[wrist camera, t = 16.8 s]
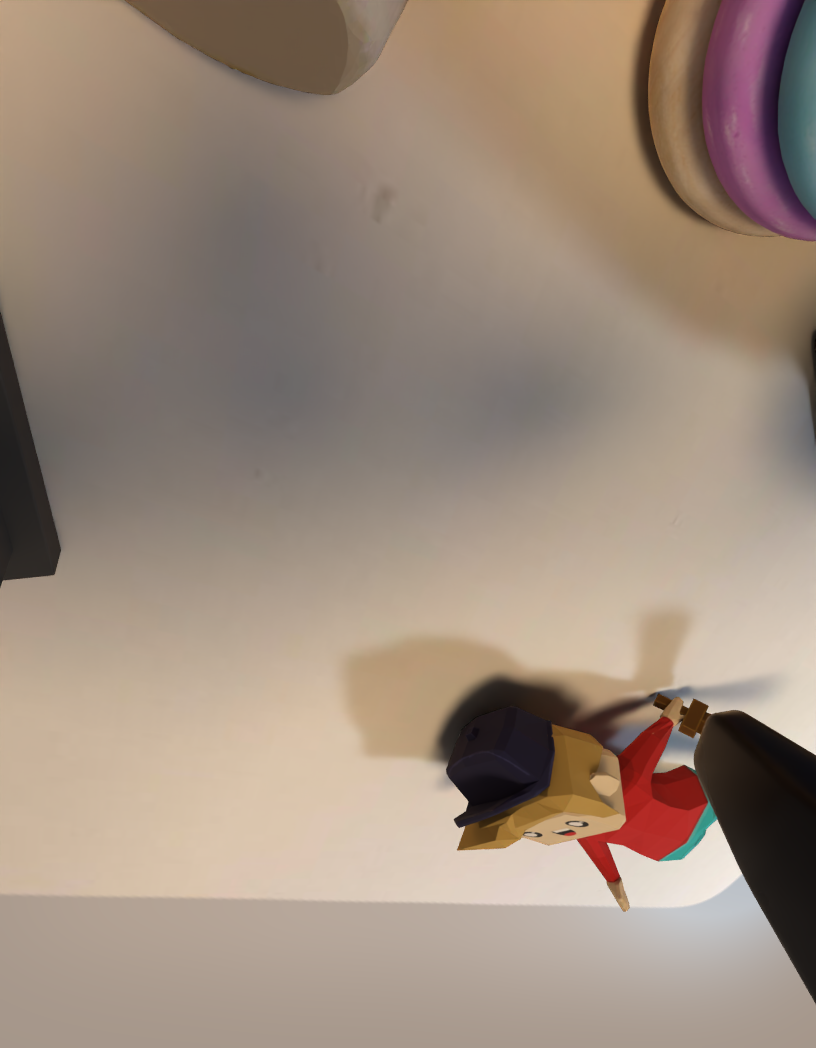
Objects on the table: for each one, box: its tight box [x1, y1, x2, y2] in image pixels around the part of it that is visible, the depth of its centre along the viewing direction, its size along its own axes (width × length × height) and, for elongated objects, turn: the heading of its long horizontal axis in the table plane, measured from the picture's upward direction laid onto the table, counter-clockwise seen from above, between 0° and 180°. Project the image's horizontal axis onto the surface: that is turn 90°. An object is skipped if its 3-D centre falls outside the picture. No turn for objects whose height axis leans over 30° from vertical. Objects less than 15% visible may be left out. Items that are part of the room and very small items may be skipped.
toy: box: [446, 694, 717, 912], centre depth 28 cm, size 9×6×15 cm
